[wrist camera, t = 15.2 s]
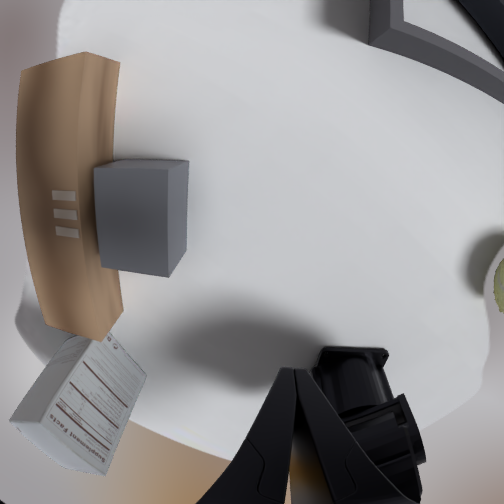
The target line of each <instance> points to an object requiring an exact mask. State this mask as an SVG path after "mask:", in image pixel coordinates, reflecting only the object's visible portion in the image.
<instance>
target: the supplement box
mask: <svg viewBox="0 0 504 504" xmlns="http://www.w3.org/2000/svg"><path fill="white" fill-rule="evenodd" d="M145 379H146V375H145V373H144V372H143V371H142V370H141V369H140V368H139V366H138V365H137V364H136V363H135V362H134V361H133V360H132V358H131V357H130V356H129V355H128V354H127V353H126V351H125V350H124V349H123V348H122V347H121V346H120V344H119V343H118V342H117V341H116V339H115V338H114V337H113V336H112V335H111V333H110V332H108V334H107V335H106V336H105V338H104V339H103V341H102V342H99V341H96V340H92V339H89V338H85V337H82V336H79V335H77V336H75V337H73V338H70V339H68V340H66V341H65V342H64V344H63V345H62V346H61V348H60V349H59V350H58V351H57V353H56V354H55V355H54V357H53V358H52V359H51V361H50V362H49V363H48V365H47V366H46V367H45V369H44V370H43V372H42V373H41V374H40V376H39V377H38V378H37V380H36V381H35V383H34V384H33V386H32V387H31V388H30V390H29V391H28V393H27V394H26V395H25V397H24V398H23V400H22V401H21V403H20V404H19V406H18V407H17V409H16V410H15V412H14V413H13V415H12V417H11V418H10V420H9V421H10V422H11V424H12V425H13V426H14V427H15V428H16V429H17V430H18V431H19V432H20V433H21V434H22V435H23V436H25V437H26V438H27V439H28V440H29V441H30V442H31V443H32V444H34V445H35V446H36V447H37V448H39V449H40V450H41V451H42V452H43V453H45V454H46V455H47V456H48V457H50V458H51V459H52V460H54V461H55V462H56V463H58V464H59V465H60V466H62V467H64V468H66V469H71V470H76V471H80V472H85V473H90V474H96V475H102V476H106V474H107V471H108V468H109V466H110V463H111V461H112V458H113V456H114V453H115V450H116V448H117V446H118V443H119V441H120V438H121V436H122V434H123V431H124V429H125V426H126V424H127V422H128V419H129V417H130V414H131V412H132V409H133V407H134V405H135V402H136V400H137V398H138V395H139V393H140V391H141V388H142V386H143V384H144V381H145Z"/></svg>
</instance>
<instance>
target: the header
mask: <svg viewBox="0 0 504 504" xmlns="http://www.w3.org/2000/svg"><path fill="white" fill-rule="evenodd" d="M119 68H120V62H117V61H114V60H111V59H108V58H105V57H102V56H99V55H96V54H92V53H89V52H82V53H78V54H74V55H70V56H66V57H62V58H59V59H55V60H52V61H49V62H46V63H43V64H39V65H36V66H33V67H31V68H28V69H25V70H22V71H21V77H20V85H19V94H18V106H17V124H16V165H17V184H18V196H19V205H20V214H21V221H22V228H23V234H24V240H25V246H26V251H27V256H28V261H29V266H30V270H31V274H32V278H33V282H34V286H35V290H36V294H37V297H38V301H39V304H40V308H41V311H42V314H43V317H44V321H45V324H46V325H48V326H51V327H54V328H57V329H60V330H63V331H66V332H69V333H72V334H76V335H79V336H82V337H85V338H89V339H92V340H96V341H99V342H102V341H103V339H104V338H105V336H106V335H107V334H108V332H109V331H110V329H111V328H112V326H113V325H114V324H115V322H116V321H117V319H118V318H119V317H120V315H121V314H122V312H123V304H122V297H121V290H120V282H119V274H118V270H115V269H109V268H103V267H101V261H100V253H99V245H98V235H97V225H96V212H95V195H94V168H95V167H98V166H102V165H105V164H109V163H112V162H113V136H114V118H115V105H116V94H117V84H118V76H119Z"/></svg>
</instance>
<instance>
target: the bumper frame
mask: <svg viewBox="0 0 504 504" xmlns="http://www.w3.org/2000/svg"><path fill="white" fill-rule="evenodd" d="M369 45H370V46H373V47H377V48H380V49H384V50H387V51H390V52H393V53H396V54H399V55H402V56H405V57H408V58H410V59H413V60H416V61H418V62H421V63H423V64H426V65H428V66H431V67H433V68H436V69H438V70H440V71H443V72H445V73H447V74H449V75H451V76H453V77H456V78H458V79H460V80H462V81H464V82H466V83H468V84H470V85H472V86H474V87H475V88H477V89H479V90H481V91H483V92H485V93H486V94H488V95H490V96H492V97H493V98H495V99H497V100H498V101H500V102H502V103H503V104H504V72H503V71H502V70H500V69H498V68H497V67H495V66H494V65H492V64H491V63H489V62H487V61H486V60H484V59H482V58H481V57H479V56H477V55H475V54H474V53H472V52H470V51H468V50H466V49H465V48H463V47H461V46H459V45H457V44H455V43H453V42H451V41H449V40H447V39H445V38H443V37H441V36H438V35H436V34H434V33H432V32H429V31H427V30H425V29H422V28H420V27H418V26H415V25H412V24H410V23H407V22H405V21H404V15H403V0H370V25H369Z"/></svg>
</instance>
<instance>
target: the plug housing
mask: <svg viewBox="0 0 504 504" xmlns="http://www.w3.org/2000/svg"><path fill="white" fill-rule="evenodd" d="M188 175H189V161H178V160H150V159H124V160H120V161H116V162H112V163H109V164H105V165H102V166H98V167H95V168H94V195H95V212H96V225H97V235H98V245H99V253H100V261H101V267H103V268H109V269H115V270H121V271H128V272H134V273H141V274H147V275H154V276H161V277H168V278H169V277H170V275H171V273H172V272H173V270H174V269H175V267H176V266H177V264H178V263H179V261H180V260H181V258H182V257H183V255H184V254H185V252H186V247H187V199H188Z"/></svg>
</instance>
